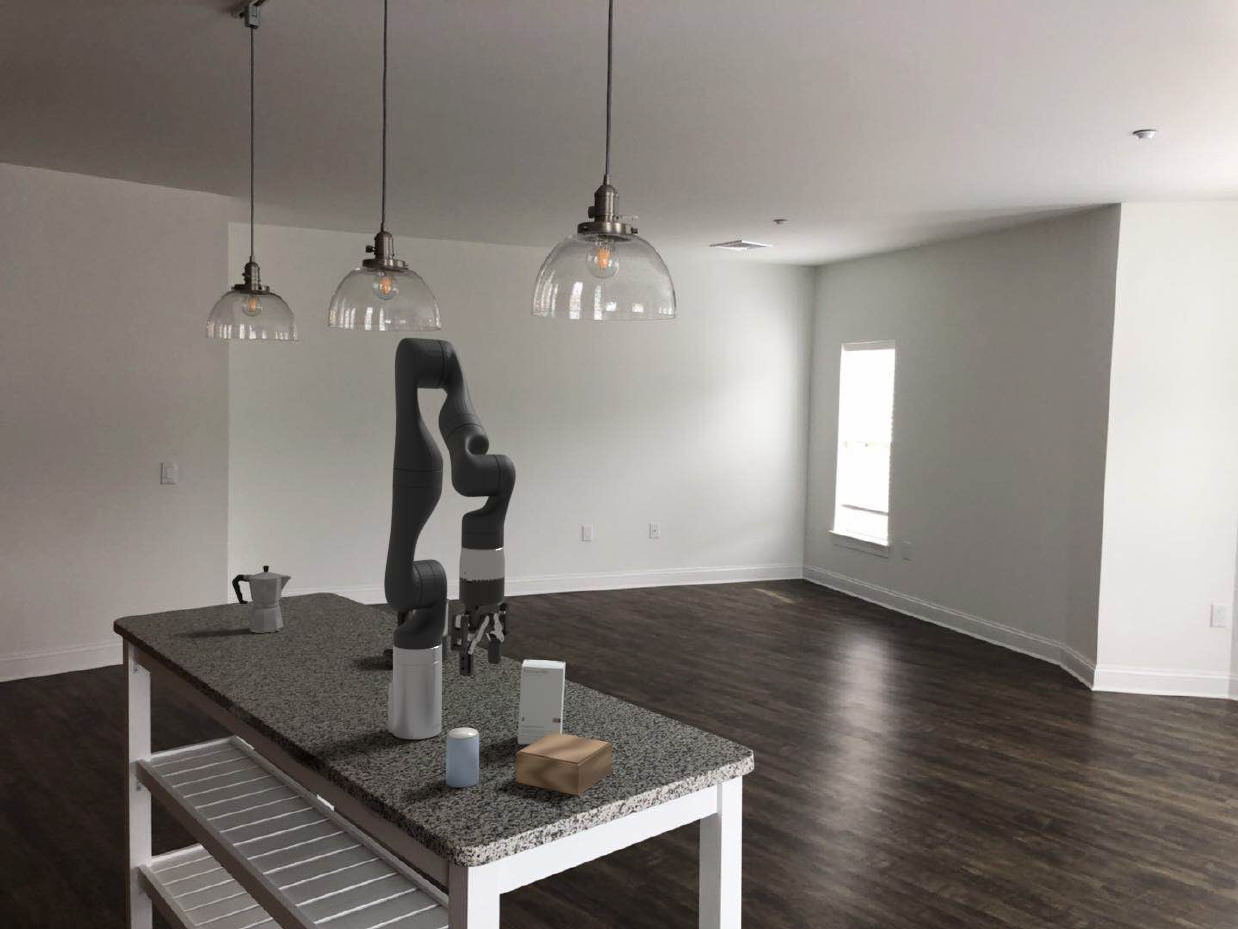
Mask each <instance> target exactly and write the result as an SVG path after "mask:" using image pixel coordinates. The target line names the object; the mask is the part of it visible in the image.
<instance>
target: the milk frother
mask: <svg viewBox="0 0 1238 929" xmlns="http://www.w3.org/2000/svg"><path fill="white" fill-rule="evenodd" d="M450 601H451V600H450V599H449V598H447V605H446V623H445V629H444V632H443V636H442V662H444V661H446V660H448V659H449V655H448V628H449V627H448V625H449V624H448V623H449V602H450ZM415 611H416V610H409V611H397V614H396V619H397V620H396V621H397V622H396V623H397V628H398V627H399V626H401V625H402V624H404V623H406V622H407V621H408V620H409V619H410V612H412V615H411V617H412V616H413V615H414V613H415ZM382 656H383V659H385V661H387V662H388V663H389V664H391V665H393V648H386V649H384V650H383V652H382Z"/></svg>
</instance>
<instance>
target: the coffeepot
mask: <svg viewBox="0 0 1238 929" xmlns="http://www.w3.org/2000/svg"><path fill="white" fill-rule="evenodd" d="M269 569H270V566H269V565H263V566H262V570H263V571H262V572H259V573H255V574H237V575H236V576H235V577H234V578H233V579H232V581H231V585H232V588H233V590H234V592H235V595H236V598H237V601H238V603H239V604H240V605H248V602H249V601H248V600H244V598H243V596H244V595H243V593H242V591H241V585H240V583H239V582H244V583H245V582H246V583H248V584H249V586H248V587H249V590H250V592H249V593H250V597H251V601H252V602H253V603H252V604H253V607H251V612H250V618H249V623H248V628H250V629H251V630H256V631H268V630H276V629H279V628H281V627H284V622H283V616H282V611H281V606H280V602H279V601H280V600H281V598H282V592H283V590H284V588H285V587H286V585H287V583H288V582H289V580H291V579H292V577H291V576H290V575H286V574H281V573H276V572H271V571H270V570H269Z"/></svg>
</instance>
